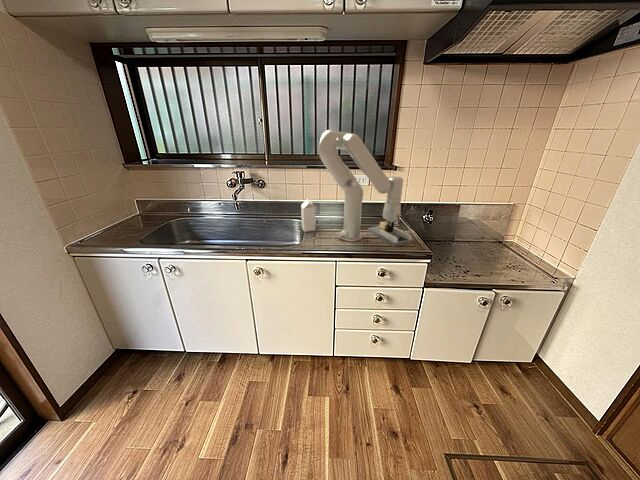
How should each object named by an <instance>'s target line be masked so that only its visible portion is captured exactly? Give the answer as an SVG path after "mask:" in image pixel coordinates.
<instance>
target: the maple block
mask: <svg viewBox="0 0 640 480" xmlns="http://www.w3.org/2000/svg"><path fill="white" fill-rule="evenodd" d="M378 226H379V230H380V229H382V230H384V231H385V232H387V221H385V220H384V221H379V225H378Z"/></svg>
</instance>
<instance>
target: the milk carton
mask: <svg viewBox="0 0 640 480" xmlns="http://www.w3.org/2000/svg"><path fill="white" fill-rule="evenodd" d="M300 210H301V211H300V212H301V213H300V214H301V215H300V217H301V228H302V230H303V232H305V233H306V232H315V231H316V207H315V205H314V202H313V201H311V200H309V199H308V198H306V200H304V201H303V203H301V205H300Z"/></svg>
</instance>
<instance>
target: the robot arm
mask: <svg viewBox="0 0 640 480" xmlns="http://www.w3.org/2000/svg"><path fill="white" fill-rule="evenodd" d="M317 147H318V149H317V150H318V156H319V158H320V160H321V162H322V163H323V165H324V166H325V168H326V169H327V171H328V172H329V174H330V175H331V176H332V178H333V179H334V182H336V184H337V183H338V185H339V187H340V188H341V190H342V191H343V192H344V205H343V206H344V207H343V229H341V231H339V232H335V236H336V237H340V238H341V240H343V241H346V242H359V241H361V240H362V239H363V237H364V235H363V234H362V233H361V226H362V225H361V221H362V209H363V208H362V207H363V199H364V198H363V197H364V189H363V187H362V186H363V185H361V184H360V182H359V180H358V179H357V178H356V177H355V175H354V174H353V172H352V171H351V170H350V168H349V166H347V165H346V164H345V163H344V161H343V160H342V159H341V157H340V155H339V154H338V153H337V150H343V151H347V153H348V154H349V156H350V157H351V159H352V160H353V161H354V163H355V164H356V166H357V167H358V168H359V170H360V171H361V173H363V174H364V175H365V176H366V177H367V178H368V180H369V181H370V183H371V184H372V187H373V188H374V189H375V191H377V192H378V193H379V194H382V195H383V194H384V195H385V194H386V200H385V202H384V205H383V211H382V218H383V219H384V221H385V220H386V221H387V232H393V228H394V227H395V225H396V226H397V225H398V224H399V222H400V219H401V212H402V211H401V209H402V208H401V207H402V205H401V201H402V192H403V185H404V179H403V177H402V176H387V175H386V174H385V172H384V171H383V169H382V168H381V167H380V165H379V164H378V162H377V161H376V160H375V158H374V156H373V155H372V154H371V152H370V151H369V149H368V148H367V146H366V145H365V143H364V142H363V140H362V139H361V138H360V136H359V135H357V134H355V133H349V132H345V131H344V132H343V131H338V130H332V129H327V130H325V131H323V133H322V134H321V136H320V140H319V144H318V146H317ZM336 149H337V150H336Z"/></svg>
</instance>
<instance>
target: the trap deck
mask: <svg viewBox="0 0 640 480" xmlns="http://www.w3.org/2000/svg"><path fill="white" fill-rule="evenodd" d="M379 226H380V225H376V226H371V227H368V228H367V232H369V233H370V234H372V235H373V236H376V237H377V238H379V239H380V240H382V241H383V242H385V243H387V244H388V245H390V246H392V247H393V248H394V247H395V248H396V247H399V246H405V245H409V244H412V243H413V239H412V235H411V234H409V233H406V232H405V231H403V230H401V229H399V228H397V227H395V226H394V228H393V232H385V231H384V230H382V229H380V230H379Z"/></svg>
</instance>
